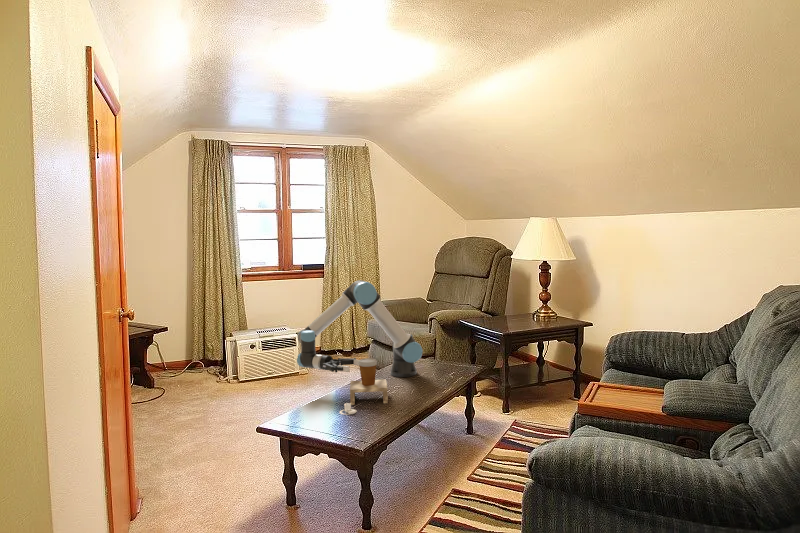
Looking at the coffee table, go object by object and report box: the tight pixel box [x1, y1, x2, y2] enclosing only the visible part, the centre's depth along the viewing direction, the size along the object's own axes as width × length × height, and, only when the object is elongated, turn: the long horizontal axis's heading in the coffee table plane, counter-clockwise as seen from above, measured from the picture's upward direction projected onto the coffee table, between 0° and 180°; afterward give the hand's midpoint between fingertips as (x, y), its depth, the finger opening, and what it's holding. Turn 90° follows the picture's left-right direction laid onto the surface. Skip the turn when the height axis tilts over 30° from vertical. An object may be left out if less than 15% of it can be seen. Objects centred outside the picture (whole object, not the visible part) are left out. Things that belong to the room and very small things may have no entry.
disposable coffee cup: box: [358, 357, 378, 386], centre depth 279 cm, size 10×10×12 cm
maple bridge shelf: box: [349, 378, 389, 406], centre depth 280 cm, size 18×16×8 cm
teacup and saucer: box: [339, 402, 357, 416], centre depth 261 cm, size 9×8×4 cm
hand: (357, 366), depth 282 cm, fingers open, 13 cm apart
